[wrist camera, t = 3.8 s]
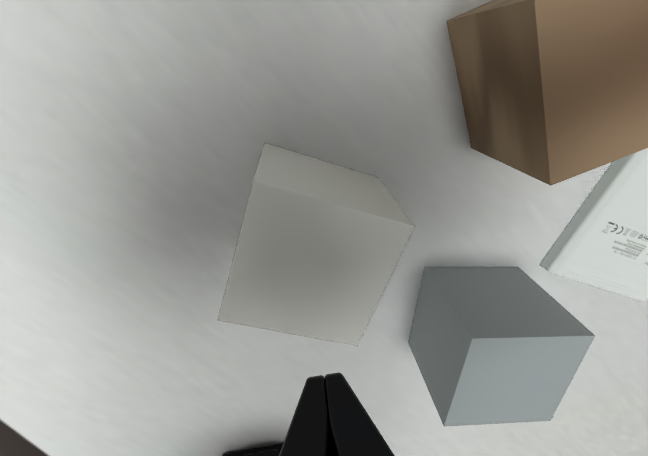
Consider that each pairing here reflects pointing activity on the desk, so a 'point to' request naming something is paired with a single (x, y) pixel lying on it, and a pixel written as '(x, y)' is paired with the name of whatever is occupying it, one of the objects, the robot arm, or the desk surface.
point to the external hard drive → (609, 233)
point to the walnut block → (554, 82)
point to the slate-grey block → (493, 345)
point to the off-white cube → (313, 249)
